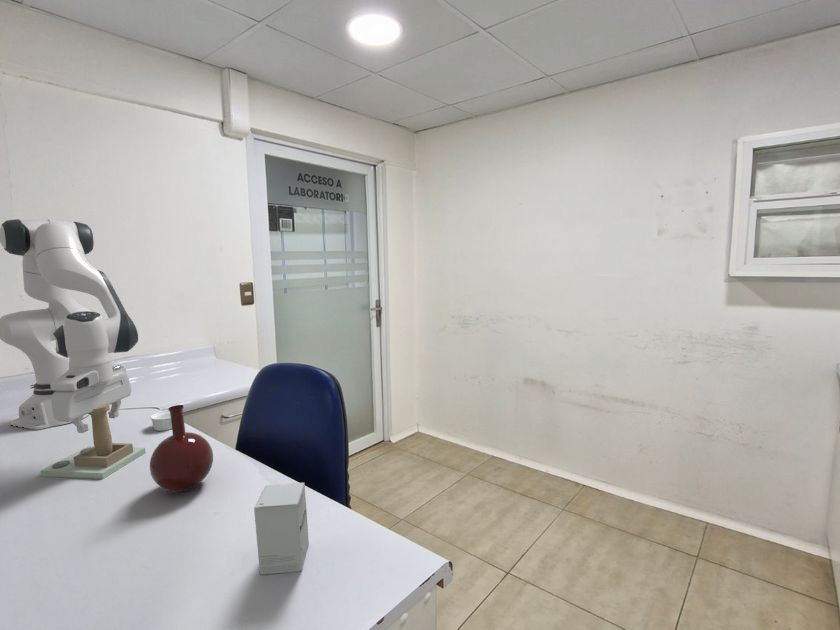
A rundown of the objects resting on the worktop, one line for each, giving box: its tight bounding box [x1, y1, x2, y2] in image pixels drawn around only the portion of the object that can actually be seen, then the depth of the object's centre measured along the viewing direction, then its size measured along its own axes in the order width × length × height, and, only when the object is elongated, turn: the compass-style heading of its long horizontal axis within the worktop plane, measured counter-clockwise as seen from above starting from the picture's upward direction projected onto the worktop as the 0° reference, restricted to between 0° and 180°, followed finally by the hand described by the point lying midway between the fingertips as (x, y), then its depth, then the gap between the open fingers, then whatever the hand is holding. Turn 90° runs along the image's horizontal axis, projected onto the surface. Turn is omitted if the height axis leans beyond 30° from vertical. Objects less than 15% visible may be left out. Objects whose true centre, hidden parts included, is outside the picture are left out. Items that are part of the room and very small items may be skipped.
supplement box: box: [253, 482, 310, 576], centre depth 76 cm, size 7×7×13 cm
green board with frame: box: [39, 442, 147, 480], centre depth 115 cm, size 18×14×4 cm
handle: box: [88, 403, 113, 456], centre depth 113 cm, size 5×6×15 cm
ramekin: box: [150, 409, 172, 432], centre depth 139 cm, size 9×9×4 cm
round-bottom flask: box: [149, 404, 214, 492], centre depth 101 cm, size 13×13×20 cm
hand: (99, 424), depth 113 cm, fingers open, 8 cm apart
